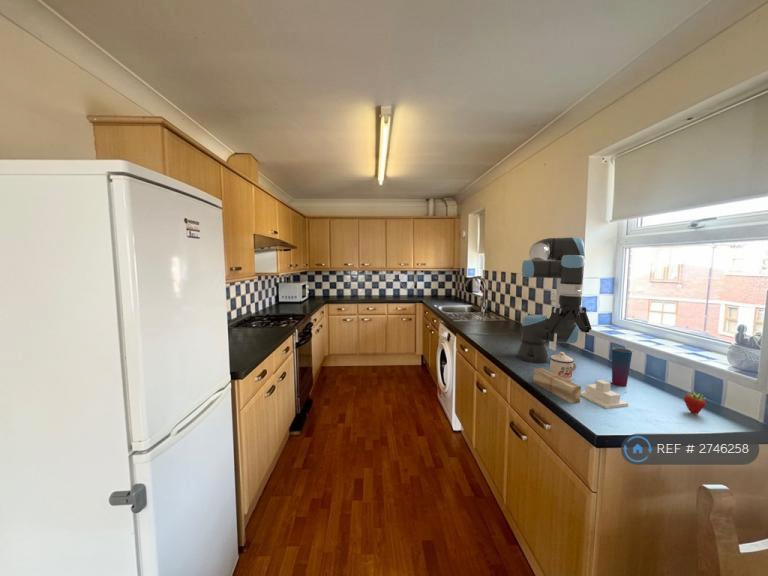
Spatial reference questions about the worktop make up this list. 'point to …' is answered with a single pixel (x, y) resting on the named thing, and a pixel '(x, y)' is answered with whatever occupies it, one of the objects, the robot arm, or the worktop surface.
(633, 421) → the worktop surface
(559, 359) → the teacup with lid
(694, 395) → the fruit
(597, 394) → the fulcrum
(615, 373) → the cup
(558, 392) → the beam
